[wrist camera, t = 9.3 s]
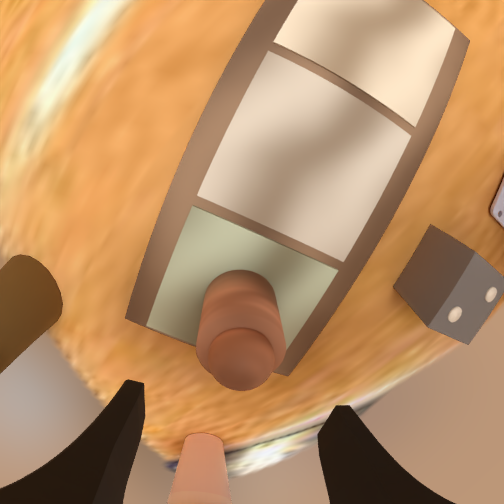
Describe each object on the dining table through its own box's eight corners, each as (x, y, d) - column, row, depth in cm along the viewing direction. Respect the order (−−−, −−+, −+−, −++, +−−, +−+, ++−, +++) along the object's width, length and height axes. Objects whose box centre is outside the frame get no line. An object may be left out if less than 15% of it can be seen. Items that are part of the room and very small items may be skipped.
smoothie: (200, 462, 27) (195, 574, 14) (157, 435, 25) (137, 561, 12) (250, 446, 26) (257, 573, 13) (207, 417, 23) (200, 566, 10)
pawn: (283, 275, 17) (305, 350, 11) (267, 334, 19) (278, 414, 13) (209, 263, 17) (195, 336, 11) (200, 324, 18) (188, 405, 12)
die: (468, 253, 19) (510, 283, 14) (434, 307, 20) (469, 346, 16) (429, 223, 18) (477, 252, 13) (392, 286, 19) (428, 328, 15)
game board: (463, 42, 13) (471, 40, 12) (286, 369, 21) (288, 378, 20) (308, -59, 10) (312, -67, 9) (128, 311, 19) (123, 320, 18)
